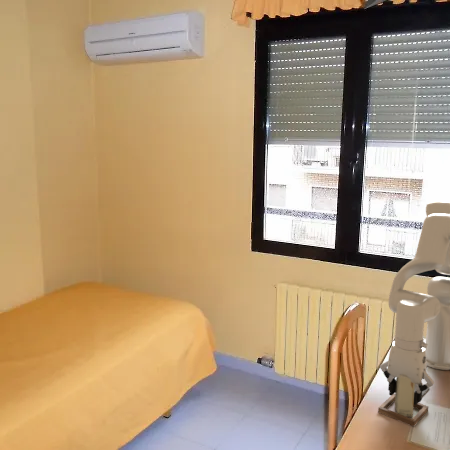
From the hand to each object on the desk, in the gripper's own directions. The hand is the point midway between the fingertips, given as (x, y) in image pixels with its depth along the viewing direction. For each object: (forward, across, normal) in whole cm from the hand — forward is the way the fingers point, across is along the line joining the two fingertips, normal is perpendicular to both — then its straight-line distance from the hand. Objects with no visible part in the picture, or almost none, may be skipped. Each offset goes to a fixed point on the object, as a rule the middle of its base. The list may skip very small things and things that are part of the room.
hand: (404, 397), depth 141 cm
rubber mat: (+4, +4, -13) cm, 14 cm away
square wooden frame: (+4, 0, 0) cm, 4 cm away
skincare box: (+4, 0, 0) cm, 4 cm away
